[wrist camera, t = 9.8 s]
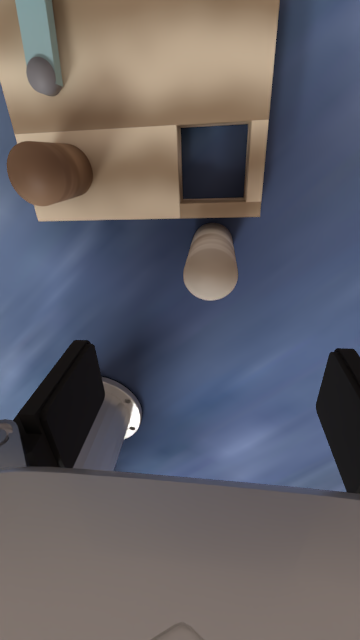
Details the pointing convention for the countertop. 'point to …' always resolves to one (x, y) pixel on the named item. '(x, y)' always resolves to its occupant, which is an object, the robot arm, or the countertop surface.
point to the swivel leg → (40, 45)
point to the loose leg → (211, 263)
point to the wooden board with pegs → (137, 104)
